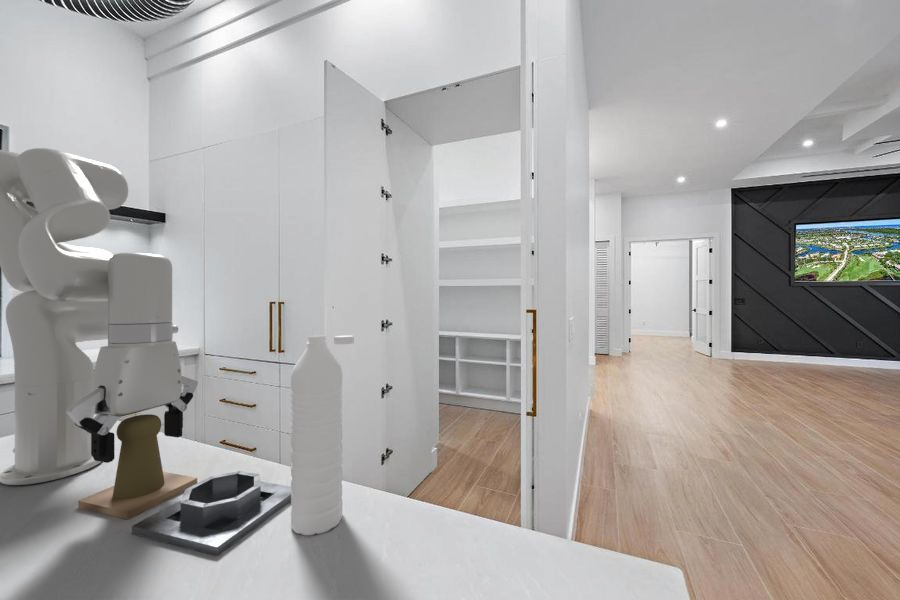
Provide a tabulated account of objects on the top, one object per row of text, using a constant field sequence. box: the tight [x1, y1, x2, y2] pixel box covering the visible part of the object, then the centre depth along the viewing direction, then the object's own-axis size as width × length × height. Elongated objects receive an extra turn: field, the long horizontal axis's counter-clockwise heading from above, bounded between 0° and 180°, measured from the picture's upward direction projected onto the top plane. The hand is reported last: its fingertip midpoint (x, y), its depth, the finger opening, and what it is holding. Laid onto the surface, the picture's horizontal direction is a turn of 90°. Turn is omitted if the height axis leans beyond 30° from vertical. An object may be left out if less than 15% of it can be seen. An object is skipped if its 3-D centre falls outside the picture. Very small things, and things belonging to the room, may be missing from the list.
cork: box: [113, 413, 165, 499], centre depth 56 cm, size 6×6×11 cm
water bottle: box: [290, 334, 355, 536], centre depth 49 cm, size 9×6×25 cm
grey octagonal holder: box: [131, 470, 292, 557], centre depth 51 cm, size 14×14×4 cm
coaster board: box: [77, 471, 198, 520], centre depth 56 cm, size 10×10×1 cm
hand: (141, 447), depth 56 cm, fingers open, 9 cm apart
